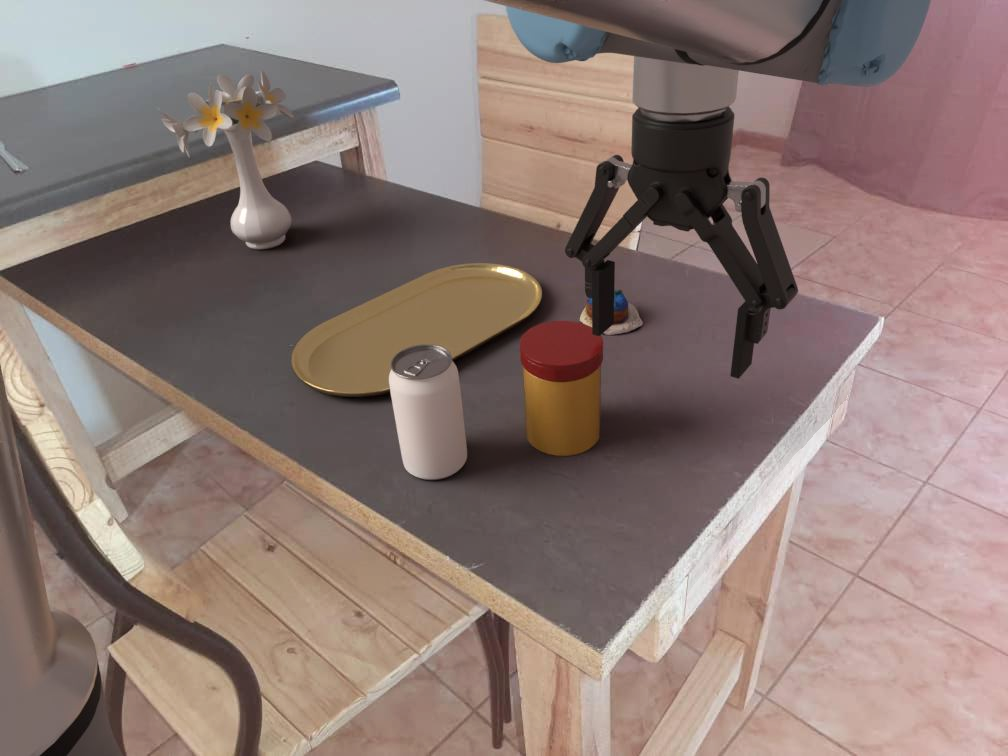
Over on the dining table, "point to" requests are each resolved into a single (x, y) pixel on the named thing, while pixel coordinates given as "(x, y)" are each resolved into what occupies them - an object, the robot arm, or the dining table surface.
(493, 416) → the dining table surface
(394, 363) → the can
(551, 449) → the jar
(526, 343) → the jar lid
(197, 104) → the flower vase
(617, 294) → the dessert
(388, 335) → the serving platter
